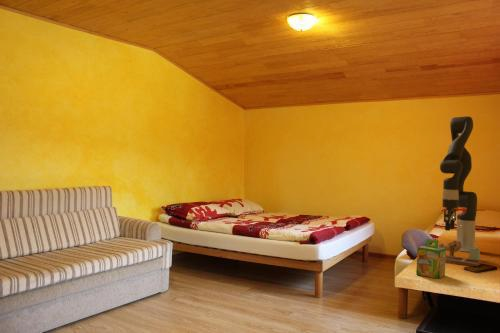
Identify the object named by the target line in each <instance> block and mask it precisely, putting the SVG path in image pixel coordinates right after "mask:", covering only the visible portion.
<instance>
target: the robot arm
mask: <svg viewBox="0 0 500 333" xmlns="http://www.w3.org/2000/svg"><path fill="white" fill-rule="evenodd" d="M449 124H450V126H449V127H450V135H451V137H450V138H451V143H450V145H449V147H448V150H447V153H446V155H445V156H444V158H443V159H442V160H441V162H440V164H439V170H440V172H441V173H443V174H448V175H450V174H453V175H452V176H451V177H446V178H444V179H443V182H442V183H443V185H442V186H443V188H442V205H441V206H442V208H446V209H445V210H443V222H444V223H445V225H444V230H445V231H448V232H449V231H451V230H455V222H456V240H458V241H460V242H461V244H462V247H461V249H460V250H458V251H461V252H465V253H466V252H467V253H469V248H471V247H474V248H476V216H477V212H478V210H477V208H478V195H477V193H476V192H474V191H465V190H464V185H465V181H466V180H467V178H468V176H469V175H470V173H471V171H472V167H473V166H472V155H471V153H470V152H469V151H468V149H467V148H466V144H467V142H468V140H469V139H470V136H471V134H472V131H473V129H474V120H473V118H472V117H471V116H458V117H457V116H456V117H452V118H451V119H450V121H449ZM458 208H462V209H463V208H464V209H465V211H464V212H461V213H458V214H457V209H458Z"/></svg>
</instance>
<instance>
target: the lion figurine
mask: <svg viewBox="0 0 500 333" xmlns="http://www.w3.org/2000/svg"><path fill="white" fill-rule="evenodd" d="M438 247H442V248H445V249H446V252H448V253H449V256H455V253H457V252H458V251H459V250H460V249H461V247H462V244H461V242H460V241H458V240H457V239H456V240H453V241H450V242H448V243H446V242H442V241H441V242H440V243H438Z"/></svg>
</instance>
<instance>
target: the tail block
mask: <svg viewBox="0 0 500 333" xmlns="http://www.w3.org/2000/svg"><path fill="white" fill-rule="evenodd" d="M468 258H470V259H477V260H481V248H480V247H475V248H474V247H471V248H469V252H468Z"/></svg>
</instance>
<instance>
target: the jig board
mask: <svg viewBox="0 0 500 333" xmlns="http://www.w3.org/2000/svg"><path fill="white" fill-rule="evenodd" d="M446 263H447V264H454V265H460V266H466V267H472V266H477V265H479V266H480V265H482V264H483V260H482V259H480V260H477V259H470V258H469V257H464V256H463V257H461V256H456V255H454V256H450V255H447V254H446V260H445V264H446ZM477 267H478V266H477Z"/></svg>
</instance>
